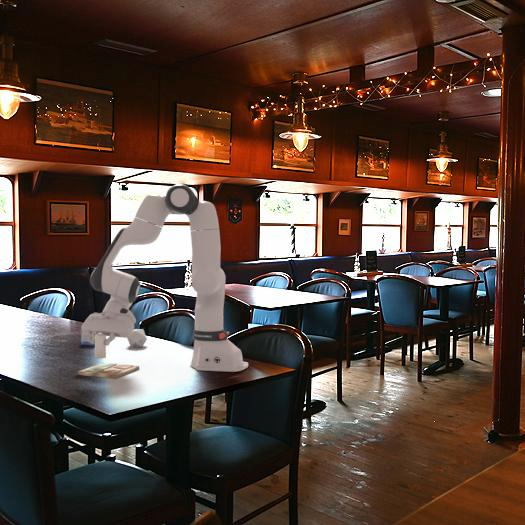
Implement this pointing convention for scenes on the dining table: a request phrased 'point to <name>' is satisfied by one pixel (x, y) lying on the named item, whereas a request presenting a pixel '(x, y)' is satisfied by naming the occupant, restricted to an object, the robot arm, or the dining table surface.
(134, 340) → the die
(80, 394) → the dining table surface
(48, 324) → the dining table surface
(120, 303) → the robot arm
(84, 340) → the medicine box
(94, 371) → the board
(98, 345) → the salt shaker
